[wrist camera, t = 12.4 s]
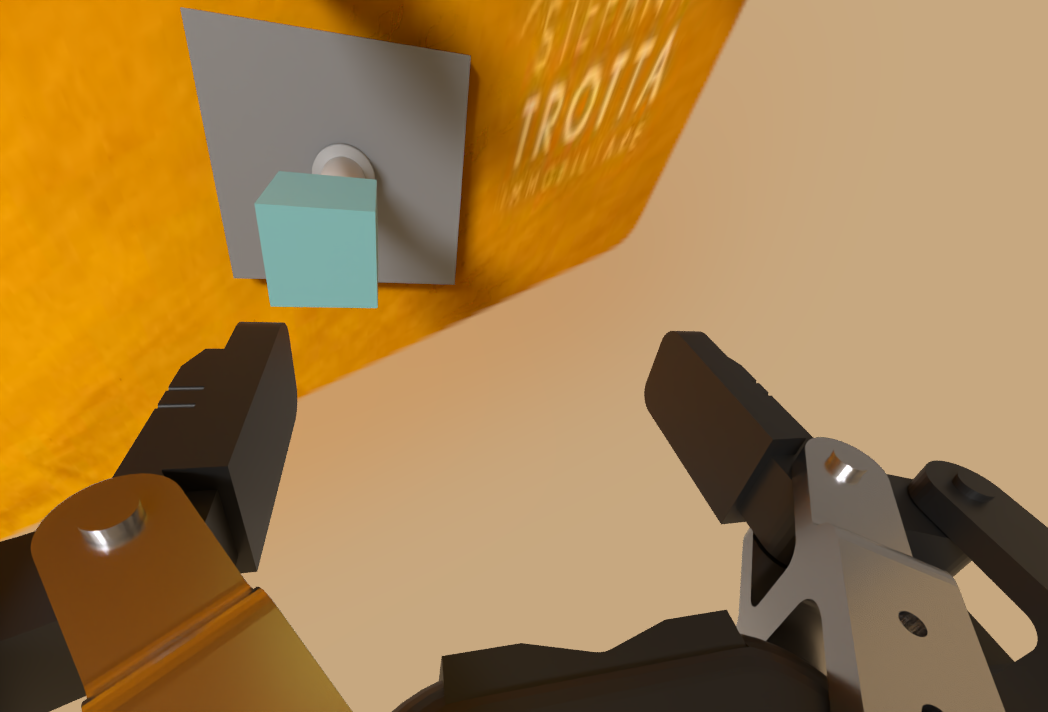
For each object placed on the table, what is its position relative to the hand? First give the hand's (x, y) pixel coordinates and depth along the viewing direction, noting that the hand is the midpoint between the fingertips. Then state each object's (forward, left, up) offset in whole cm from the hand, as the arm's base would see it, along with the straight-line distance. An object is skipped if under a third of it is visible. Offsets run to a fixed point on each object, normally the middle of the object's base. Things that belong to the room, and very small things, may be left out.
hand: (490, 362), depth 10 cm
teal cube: (+4, -5, -21) cm, 21 cm away
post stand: (+4, -5, -34) cm, 34 cm away
